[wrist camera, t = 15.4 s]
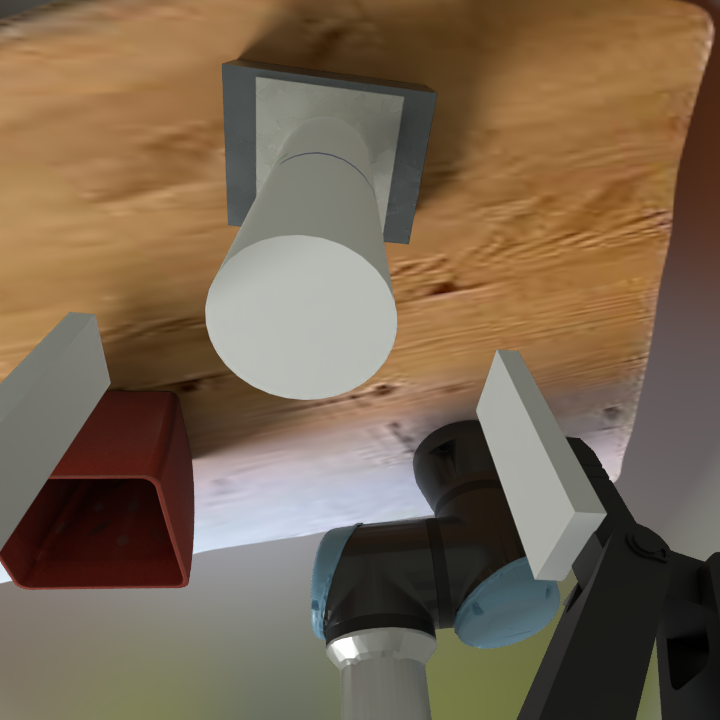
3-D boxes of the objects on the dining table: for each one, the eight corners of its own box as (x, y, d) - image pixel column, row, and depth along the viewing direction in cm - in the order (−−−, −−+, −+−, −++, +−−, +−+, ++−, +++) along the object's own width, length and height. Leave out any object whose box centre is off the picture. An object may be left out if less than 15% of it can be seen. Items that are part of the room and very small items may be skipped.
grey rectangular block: (425, 85, 41) (438, 93, 35) (401, 221, 48) (409, 246, 42) (236, 58, 39) (220, 64, 34) (240, 203, 46) (227, 226, 41)
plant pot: (201, 370, 57) (156, 478, 44) (220, 476, 68) (189, 589, 55) (38, 366, 56) (-60, 476, 43) (84, 475, 67) (18, 590, 54)
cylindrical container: (380, 193, 40) (417, 373, 19) (301, 220, 41) (257, 417, 20) (352, 102, 36) (363, 205, 15) (265, 135, 37) (167, 272, 16)
